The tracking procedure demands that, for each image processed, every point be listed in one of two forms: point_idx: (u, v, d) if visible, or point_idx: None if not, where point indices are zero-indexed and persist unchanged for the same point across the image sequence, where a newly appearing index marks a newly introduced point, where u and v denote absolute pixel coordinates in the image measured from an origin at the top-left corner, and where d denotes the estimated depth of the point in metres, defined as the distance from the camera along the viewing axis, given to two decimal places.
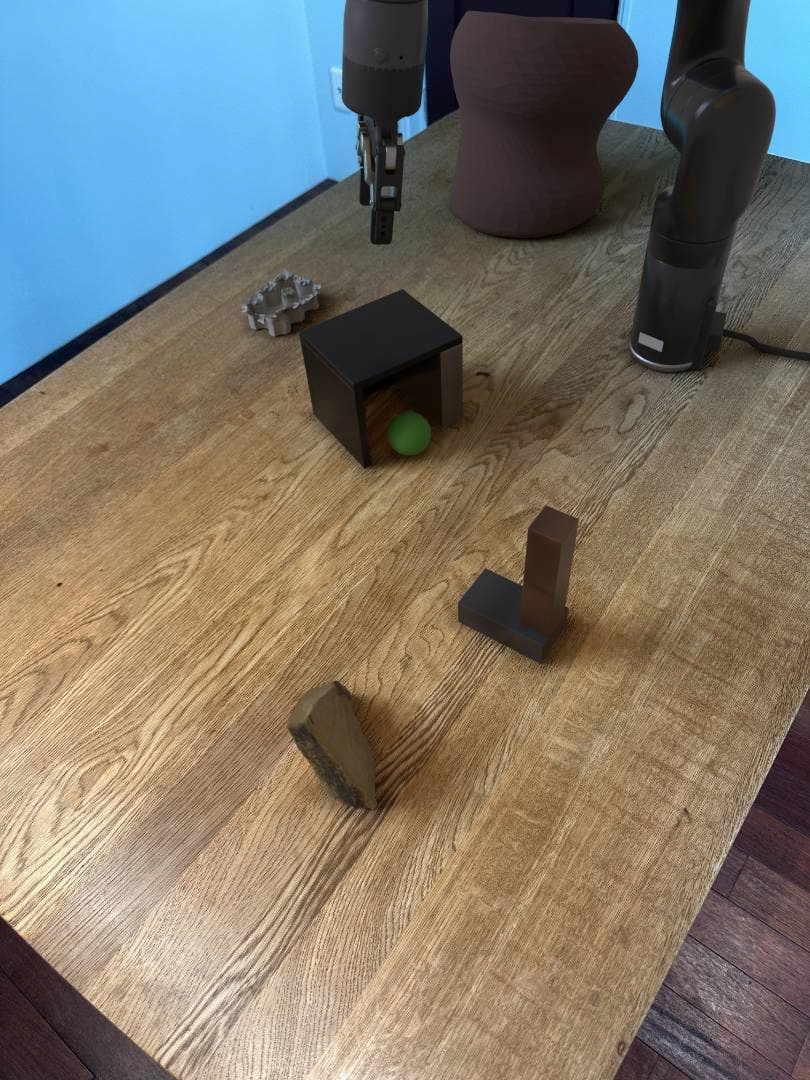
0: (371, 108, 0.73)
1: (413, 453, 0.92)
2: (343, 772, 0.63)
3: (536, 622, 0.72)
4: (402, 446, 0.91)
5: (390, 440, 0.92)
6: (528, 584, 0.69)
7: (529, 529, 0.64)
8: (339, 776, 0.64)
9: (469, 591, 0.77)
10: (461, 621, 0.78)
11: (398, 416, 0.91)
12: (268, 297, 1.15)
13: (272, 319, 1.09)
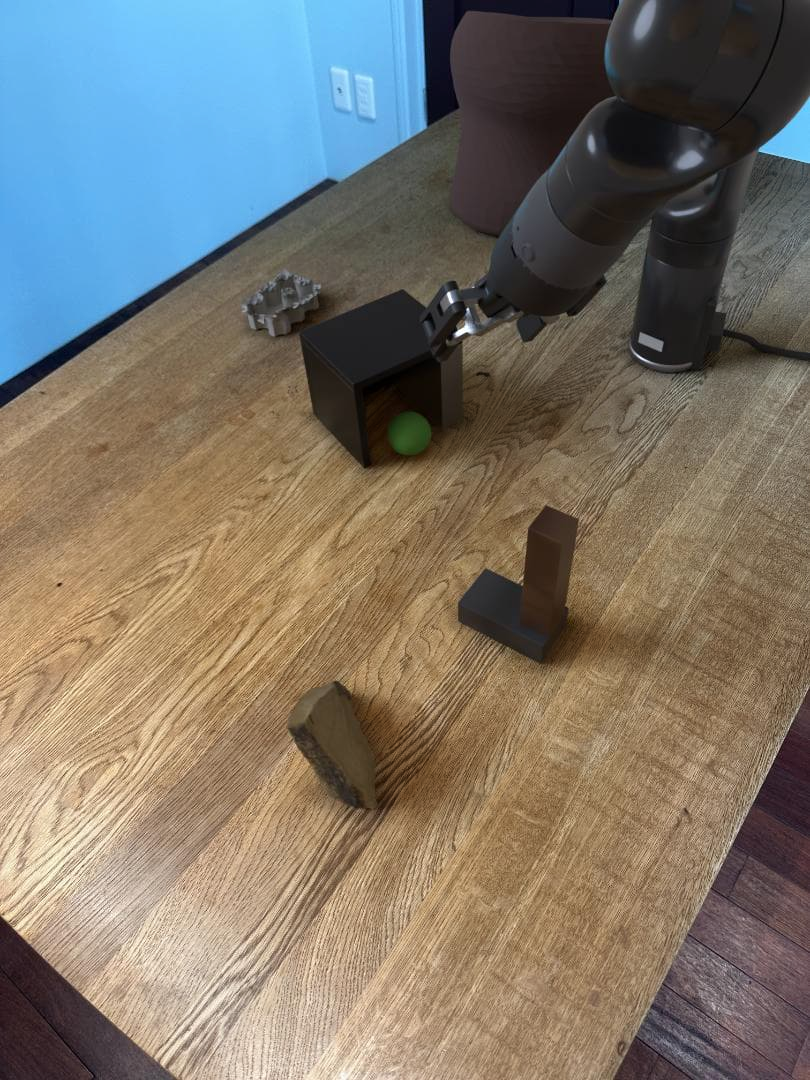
0: None
1: (413, 453, 0.92)
2: (343, 772, 0.63)
3: (536, 622, 0.72)
4: (402, 446, 0.91)
5: (390, 440, 0.92)
6: (528, 584, 0.69)
7: (529, 529, 0.64)
8: (339, 776, 0.64)
9: (469, 591, 0.77)
10: (461, 621, 0.78)
11: (398, 416, 0.91)
12: (268, 297, 1.15)
13: (272, 319, 1.09)
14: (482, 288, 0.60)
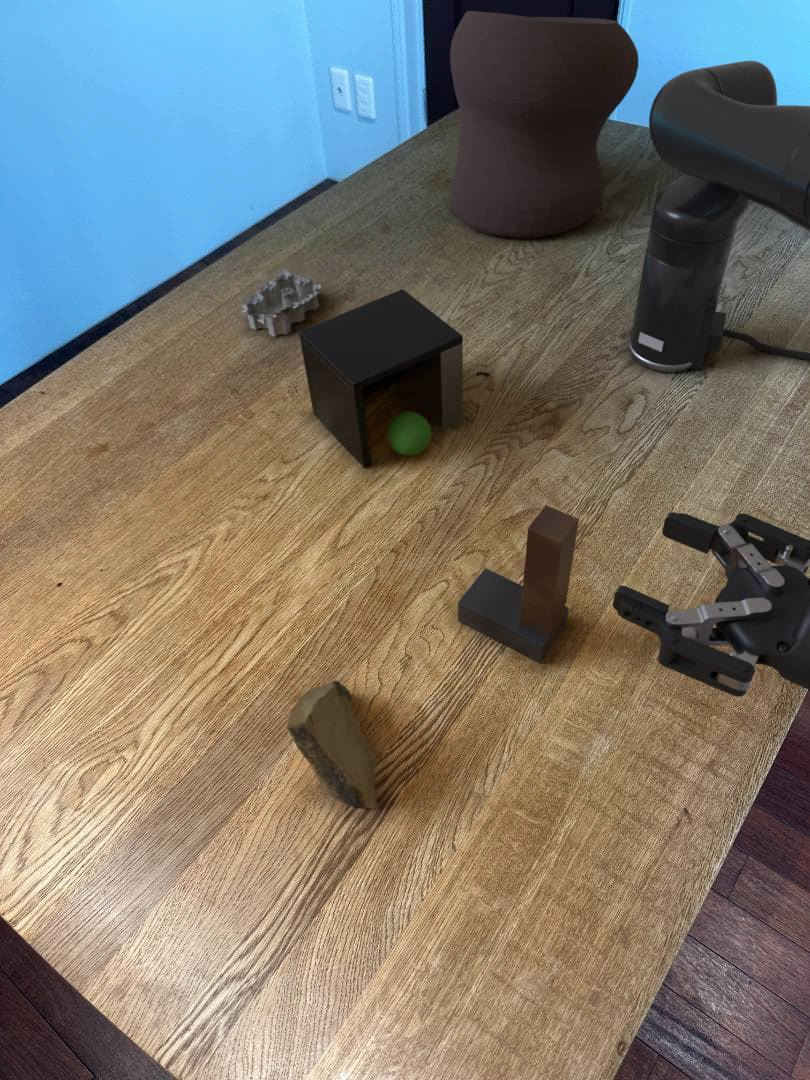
0: None
1: (413, 453, 0.92)
2: (343, 772, 0.63)
3: (536, 622, 0.72)
4: (402, 446, 0.91)
5: (390, 440, 0.92)
6: (528, 584, 0.69)
7: (529, 529, 0.64)
8: (339, 776, 0.64)
9: (469, 591, 0.77)
10: (461, 621, 0.78)
11: (398, 416, 0.91)
12: (268, 297, 1.15)
13: (272, 319, 1.09)
14: None
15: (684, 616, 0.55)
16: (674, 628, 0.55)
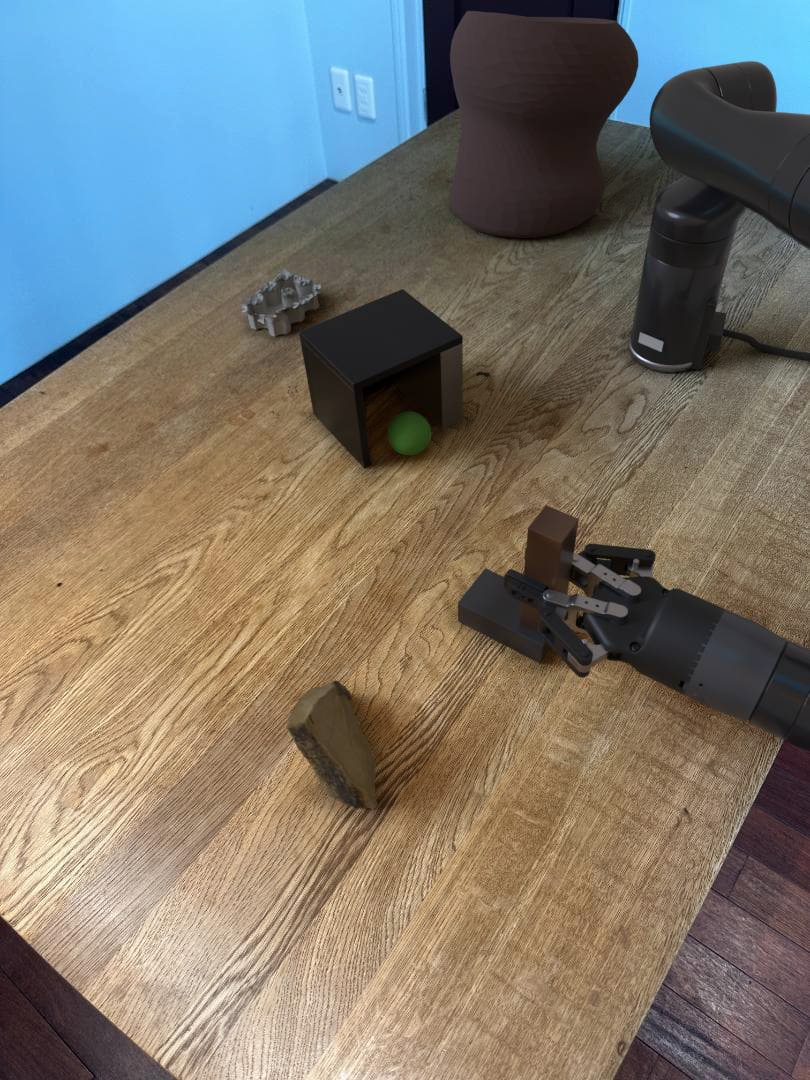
0: None
1: (413, 453, 0.92)
2: (343, 772, 0.63)
3: (536, 622, 0.72)
4: (402, 446, 0.91)
5: (390, 440, 0.92)
6: None
7: (529, 529, 0.64)
8: (339, 776, 0.64)
9: (469, 591, 0.77)
10: (461, 621, 0.78)
11: (398, 416, 0.91)
12: (268, 297, 1.15)
13: (272, 319, 1.09)
14: (610, 651, 0.64)
15: (557, 597, 0.67)
16: (550, 604, 0.67)
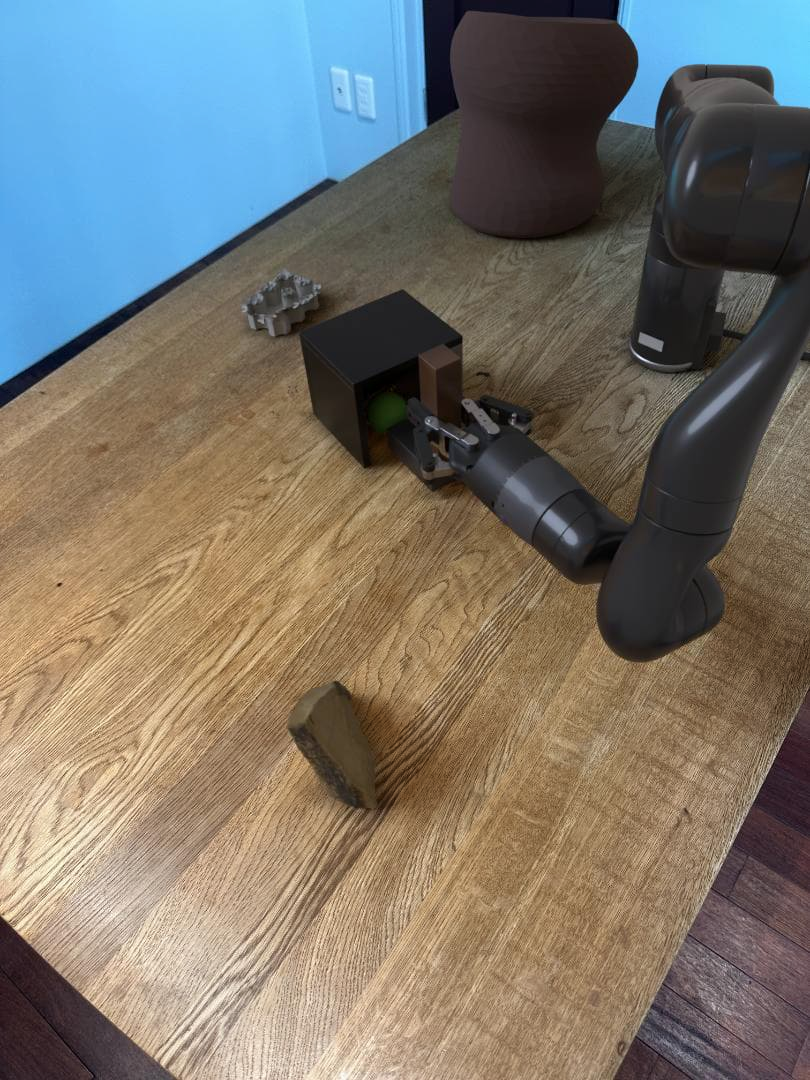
0: None
1: (382, 402, 0.93)
2: (343, 772, 0.63)
3: None
4: (369, 406, 0.94)
5: (368, 421, 0.95)
6: None
7: (419, 356, 0.79)
8: (339, 776, 0.64)
9: (399, 423, 0.92)
10: (389, 448, 0.93)
11: None
12: (268, 297, 1.15)
13: (272, 319, 1.09)
14: (453, 469, 0.77)
15: (435, 422, 0.81)
16: (428, 427, 0.81)
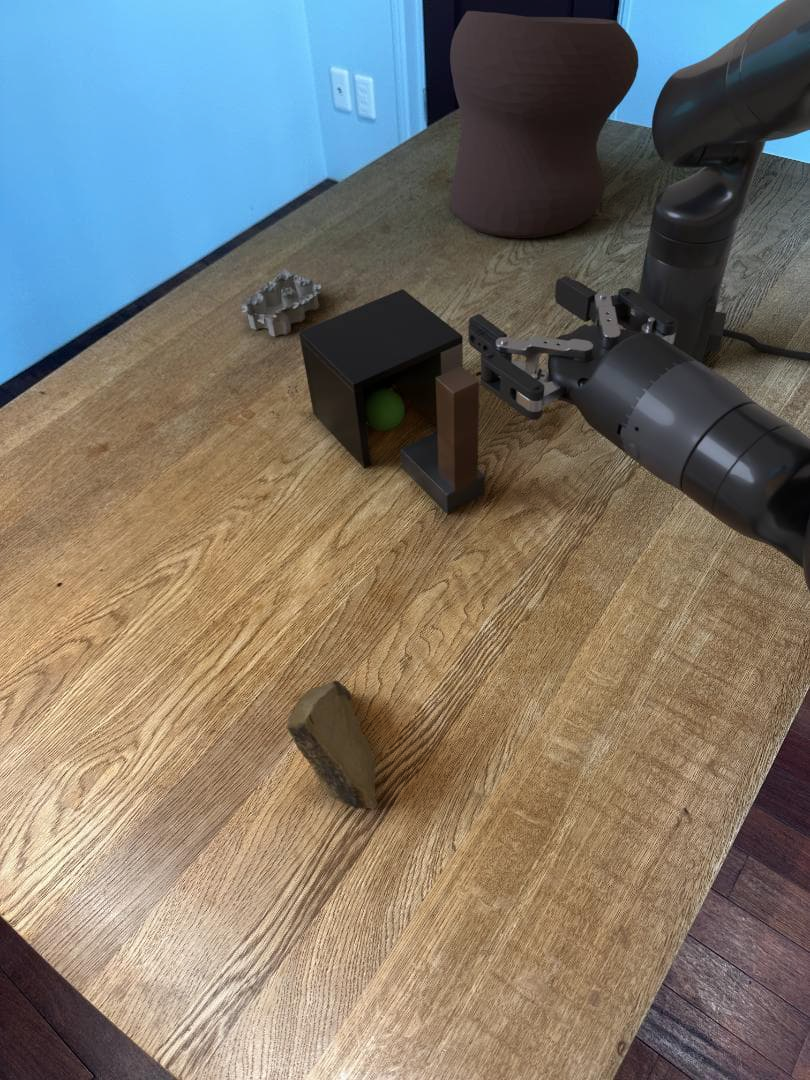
0: None
1: (374, 396, 0.94)
2: (343, 772, 0.63)
3: (447, 474, 0.85)
4: None
5: None
6: (440, 434, 0.82)
7: (436, 379, 0.77)
8: (339, 776, 0.64)
9: (414, 443, 0.91)
10: (403, 468, 0.92)
11: None
12: (268, 297, 1.15)
13: (272, 319, 1.09)
14: (564, 387, 0.56)
15: (512, 343, 0.58)
16: (500, 352, 0.58)
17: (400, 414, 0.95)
